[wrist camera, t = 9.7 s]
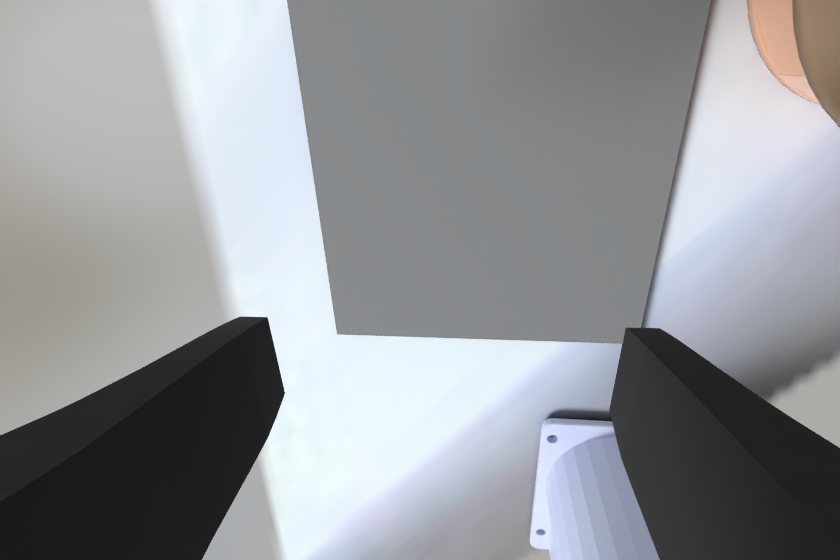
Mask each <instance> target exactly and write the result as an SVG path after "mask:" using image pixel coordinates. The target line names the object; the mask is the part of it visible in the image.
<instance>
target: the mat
mask: <svg viewBox="0 0 840 560" xmlns="http://www.w3.org/2000/svg"><path fill="white" fill-rule="evenodd" d="M287 3H288V9H289V16H290V23H291V29H292V36H293V43H294V49H295V56H296V63H297V69H298V76H299V83H300V89H301V96H302V103H303V109H304V116H305V123H306V129H307V136H308V143H309V149H310V156H311V163H312V169H313V176H314V183H315V189H316V196H317V203H318V209H319V216H320V223H321V229H322V236H323V243H324V249H325V256H326V263H327V270H328V276H329V283H330V290H331V296H332V303H333V310H334V316H335V323H336V330H337V334H345V335H376V336H407V337H437V338H468V339H499V340H530V341H561V342H591V343H622V344H623V339H624V334H625V329H626V328H641V325H642V321H643V316H644V311H645V307H646V302H647V297H648V293H649V288H650V283H651V279H652V274H653V269H654V265H655V260H656V256H657V251H658V246H659V242H660V237H661V232H662V228H663V223H664V218H665V214H666V209H667V204H668V200H669V195H670V190H671V186H672V181H673V176H674V172H675V167H676V162H677V158H678V153H679V148H680V144H681V139H682V134H683V130H684V125H685V120H686V116H687V111H688V106H689V102H690V97H691V93H692V88H693V83H694V79H695V74H696V69H697V65H698V60H699V55H700V51H701V46H702V41H703V37H704V32H705V27H706V23H707V18H708V13H709V9H710V4H711V0H287Z"/></svg>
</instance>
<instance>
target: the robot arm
mask: <svg viewBox="0 0 840 560" xmlns="http://www.w3.org/2000/svg"><path fill="white" fill-rule="evenodd" d="M284 394H285V392H284V388H283V383H282V379H281V374H280V370H279V366H278V361H277V357H276V353H275V348H274V344H273V340H272V335H271V331H270V327H269V322H268V318H267V317H239V318H236V319H234V320H231V321H229V322H227V323H225V324H223V325H221V326H219V327H217V328H215V329H213V330H211V331H209V332H207V333H205V334H204V335H202V336H200V337H198V338H196V339H194V340H193V341H191V342H189V343H187V344H185V345H183V346H182V347H180V348H178V349H176V350H174V351H173V352H171V353H169V354H167V355H165V356H163V357H161V358H160V359H158V360H156V361H154V362H152V363H150V364H149V365H147V366H145V367H143V368H141V369H139V370H137V371H135V372H133V373H131V374H130V375H128V376H126V377H124V378H122V379H120V380H118V381H116V382H114V383H112V384H110V385H108V386H106V387H104V388H102V389H100V390H98V391H96V392H94V393H92V394H90V395H89V396H86V397H84V398H83V399H80V400H78V401H76V402H74V403H72V404H70V405H68V406H66V407H64V408H62V409H59V410H57V411H55V412H53V413H51V414H49V415H46V416H44V417H42V418H40V419H37V420H35V421H33V422H30V423H28V424H26V425H24V426H21V427H19V428H17V429H15V430H12V431H10V432H8V433H5V434H3V435H0V560H202V558H203V556H204V554H205V552H206V550H207V548H208V546H209V544H210V542H211V540H212V539H213V537H214V535H215V533H216V531H217V529H218V528H219V526H220V524H221V522H222V520H223V519H224V517H225V515H226V513H227V511H228V510H229V508H230V506H231V504H232V502H233V500H234V499H235V497H236V495H237V493H238V491H239V490H240V488H241V486H242V484H243V482H244V481H245V479H246V477H247V475H248V473H249V472H250V469H251V468H252V466H253V464H254V462H255V460H256V459H257V457H258V455H259V453H260V451H261V449H262V448H263V446H264V444H265V442H266V440H267V438H268V436H269V434H270V431H271V429H272V426H273V424H274V421H275V419H276V416H277V413H278V411H279V408H280V405H281V402H282V400H283V397H284ZM610 414H611V418H612V421H596V420H577V419H558V418H550V419H547V420H545V421H544V422H543V424H542V428H541V437H540V446H539V455H538V465H537V474H536V483H535V492H534V501H533V511H532V520H531V529H530V544H531V545H532V546H533V547H535V548H538V549H548V550H549V553H550V560H840V448H838V447H837V446H836V445H834V444H832V443H831V442H829V441H828V440H826V439H824V438H823V437H821V436H820V435H818V434H816V433H815V432H813V431H812V430H810V429H808V428H807V427H805V426H804V425H802V424H800V423H799V422H797V421H796V420H794V419H792V418H791V417H789V416H788V415H786V414H785V413H783V412H782V411H780V410H779V409H777V408H776V407H774V406H773V405H771V404H770V403H768V402H767V401H765V400H764V399H762V398H761V397H759V396H758V395H756V394H755V393H753V392H752V391H750V390H749V389H747V388H746V387H745V386H743V385H742V384H740V383H739V382H737V381H736V380H734V379H733V378H732V377H730V376H729V375H727V374H726V373H724V372H723V371H722V370H720V369H719V368H717V367H716V366H714V365H713V364H712V363H710V362H709V361H707V360H706V359H705V358H703V357H702V356H700V355H699V354H697V353H696V352H695V351H693V350H692V349H690V348H689V347H687V346H686V345H685V344H683V343H682V342H680V341H679V340H677V339H676V338H674V337H673V336H671V335H670V334H668V333H666V332H665V331H663V330H661V329H660V328H626V329H625V334H624V339H623V344H622V349H621V354H620V359H619V364H618V369H617V374H616V380H615V385H614V390H613V395H612V400H611V405H610ZM550 435H555V436H554V437H549V436H550Z"/></svg>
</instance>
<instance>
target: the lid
mask: <svg viewBox="0 0 840 560" xmlns="http://www.w3.org/2000/svg"><path fill="white" fill-rule="evenodd" d="M792 8H793V29H794V34H795V40H796V45H797V50H798V56H799V59H800V62H801V65H802V68H803V70H804V73H805V76H806V78H807V81H808V84H809V86H810V88H811V89H812V91H813V93H814V94H815V96H816V98H817V99H818V101H819V103H820V105H821V106H822V108H823V109H824V110H825V111H826V112H827V114H828V115H829V116H830V117H831V118H832V119H833V120H834V122H835V123H836V124H837V125H838V126H839V127H840V0H792Z"/></svg>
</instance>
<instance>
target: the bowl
mask: <svg viewBox="0 0 840 560" xmlns="http://www.w3.org/2000/svg"><path fill="white" fill-rule="evenodd" d="M747 3H748V17H749V22H750V27H751V32H752V36H753V39H754V42H755V44H756V47H757V49H758V52H759V54H760V56H761V58H762V59H763V61H764V63H765V64H766V66H767V68H768V69H769V70H770V72H771V73H772V74H773V75H774V76H775V77H776V78H777V80H778V81H779V82H780V83H781V84H783V85H784V86H785V87H787V88H788V89H789V90H790V91H792V92H793V93H795V94H796V95H798V96H800V97H802V98H804V99H806V100H808V101H810V102H813V103H816V104H819V105H820V103H819V101H818V99H817V98H816V96H815V94H814V93H813V91H812V89H811V88H810V86H809V84H808V81H807V78H806V76H805V73H804V70H803V68H802V65H801V62H800V59H799V56H798V50H797V45H796V40H795V34H794V29H793V8H792V0H747Z"/></svg>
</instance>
